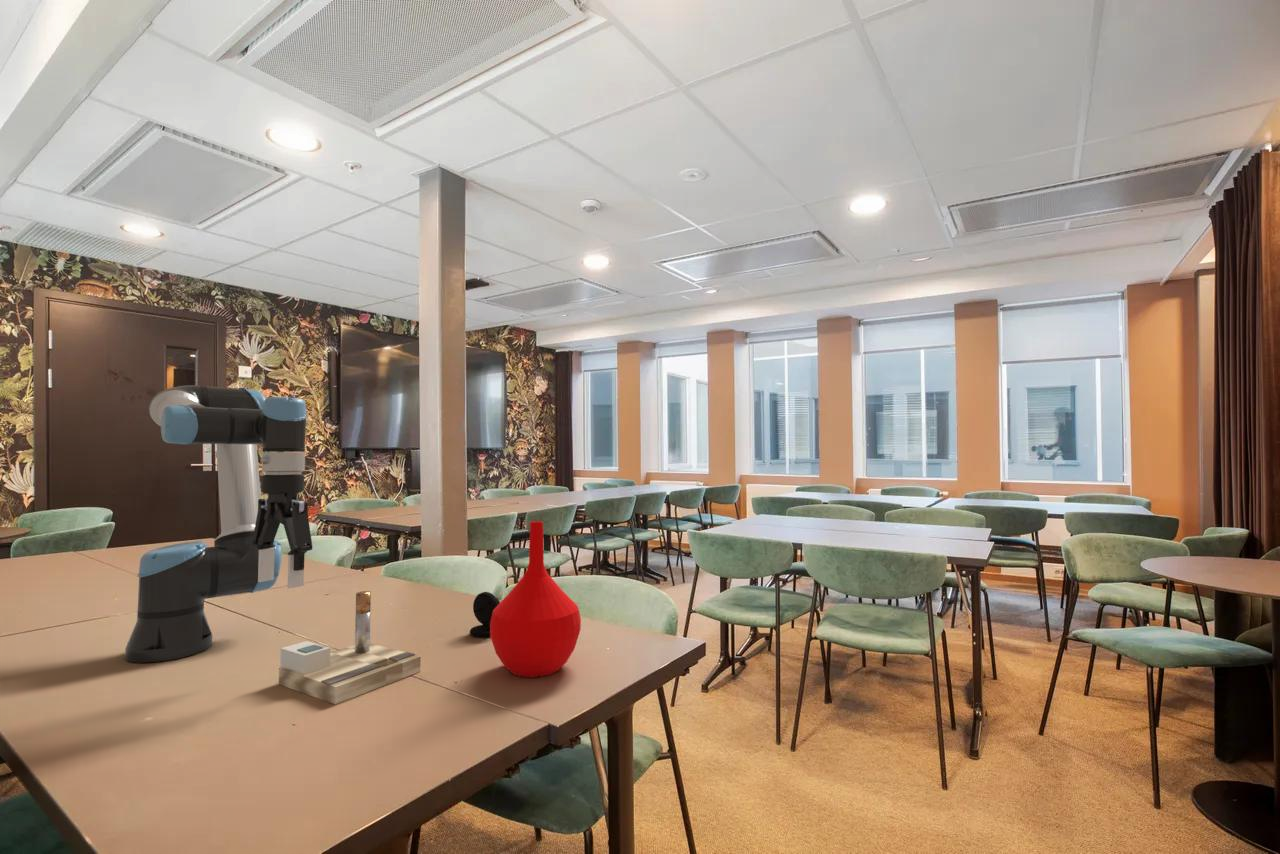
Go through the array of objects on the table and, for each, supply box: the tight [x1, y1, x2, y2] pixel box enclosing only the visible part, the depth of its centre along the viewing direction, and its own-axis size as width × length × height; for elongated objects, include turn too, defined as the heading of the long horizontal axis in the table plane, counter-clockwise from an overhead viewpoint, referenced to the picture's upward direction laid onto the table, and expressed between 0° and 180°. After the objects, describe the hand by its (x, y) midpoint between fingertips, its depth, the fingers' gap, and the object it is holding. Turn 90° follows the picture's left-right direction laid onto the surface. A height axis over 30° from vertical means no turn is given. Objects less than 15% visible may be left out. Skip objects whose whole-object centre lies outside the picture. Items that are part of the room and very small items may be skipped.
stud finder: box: [279, 640, 332, 675], centre depth 113 cm, size 8×5×4 cm, turn 60°
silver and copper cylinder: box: [354, 590, 372, 653], centre depth 122 cm, size 3×3×12 cm
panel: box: [278, 642, 422, 705], centre depth 115 cm, size 18×18×3 cm
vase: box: [489, 520, 582, 678], centre depth 121 cm, size 18×18×30 cm
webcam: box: [469, 591, 501, 639], centre depth 144 cm, size 8×8×10 cm
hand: (280, 583), depth 119 cm, fingers open, 10 cm apart
